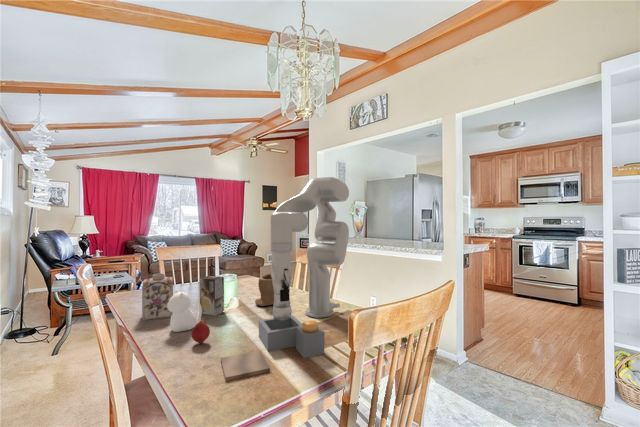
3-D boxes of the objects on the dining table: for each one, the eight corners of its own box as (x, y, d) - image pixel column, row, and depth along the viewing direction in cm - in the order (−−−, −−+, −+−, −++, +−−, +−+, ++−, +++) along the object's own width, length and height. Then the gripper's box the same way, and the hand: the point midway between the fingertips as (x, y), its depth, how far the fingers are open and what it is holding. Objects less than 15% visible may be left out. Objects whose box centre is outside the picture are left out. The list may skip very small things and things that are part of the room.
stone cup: (261, 309, 139) (261, 277, 139) (252, 303, 149) (252, 273, 149) (290, 304, 147) (290, 274, 147) (280, 299, 157) (280, 270, 157)
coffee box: (224, 311, 136) (224, 276, 136) (215, 316, 130) (215, 279, 130) (209, 309, 139) (209, 275, 140) (198, 313, 133) (198, 277, 134)
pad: (260, 353, 94) (260, 350, 94) (269, 371, 83) (269, 368, 83) (220, 361, 90) (220, 357, 90) (225, 381, 79) (225, 377, 79)
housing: (300, 329, 114) (300, 311, 114) (324, 353, 94) (324, 331, 94) (258, 336, 108) (258, 317, 108) (275, 364, 88) (275, 340, 88)
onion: (198, 348, 98) (198, 324, 98) (187, 344, 101) (187, 321, 101) (213, 342, 103) (213, 319, 103) (202, 338, 106) (202, 316, 106)
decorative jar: (173, 309, 140) (173, 271, 140) (173, 316, 129) (173, 275, 130) (144, 312, 135) (144, 273, 135) (141, 321, 124) (141, 277, 124)
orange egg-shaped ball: (314, 337, 99) (314, 319, 99) (320, 343, 95) (320, 324, 95) (300, 340, 97) (300, 321, 97) (305, 346, 93) (305, 326, 93)
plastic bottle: (288, 323, 101) (288, 264, 101) (269, 322, 102) (269, 264, 102) (293, 316, 107) (293, 261, 107) (276, 315, 109) (275, 261, 109)
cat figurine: (164, 329, 115) (164, 290, 115) (197, 321, 123) (197, 285, 123) (171, 336, 108) (170, 295, 108) (205, 327, 116) (205, 289, 116)
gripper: (265, 245, 111) (265, 293, 111) (278, 250, 95) (278, 306, 96) (284, 244, 114) (284, 291, 114) (299, 249, 99) (300, 303, 99)
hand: (281, 297), depth 105 cm, fingers closed on plastic bottle, 6 cm apart
